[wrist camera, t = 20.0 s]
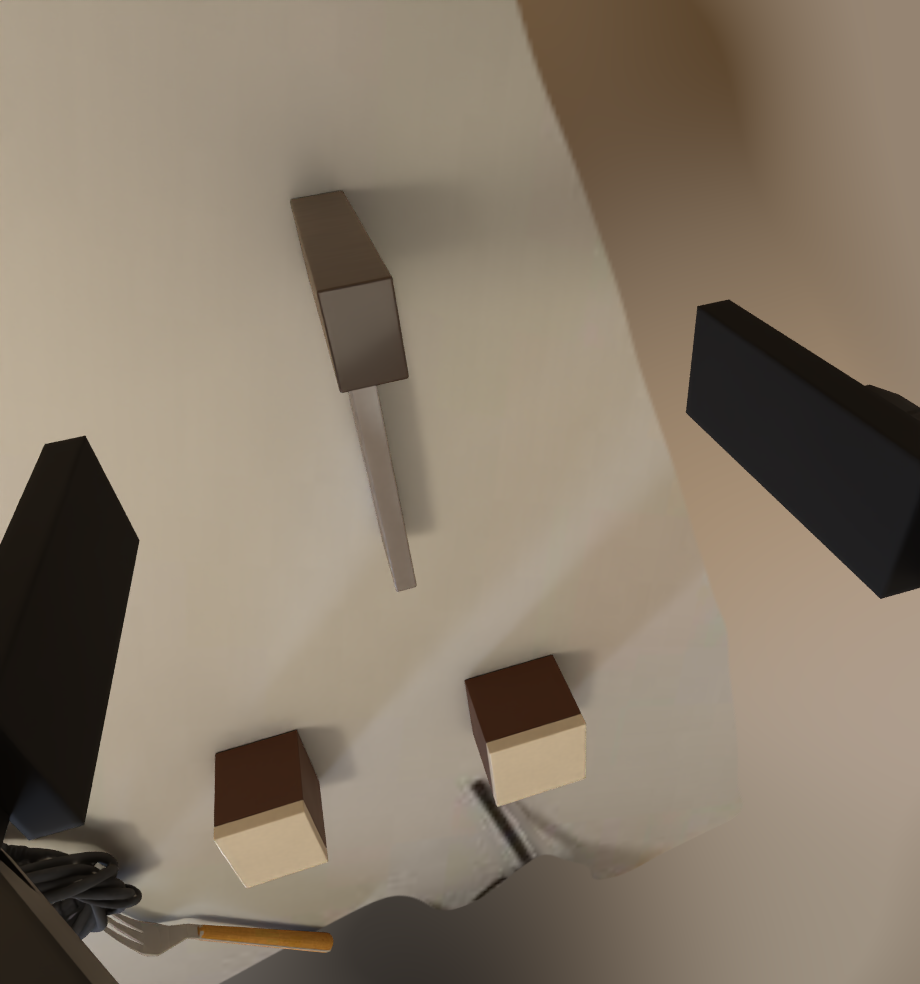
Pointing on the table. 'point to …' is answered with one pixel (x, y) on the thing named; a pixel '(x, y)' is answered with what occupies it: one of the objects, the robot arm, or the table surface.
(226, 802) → the cake slice
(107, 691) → the robot arm
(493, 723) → the cake
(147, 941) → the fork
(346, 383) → the long brown beam
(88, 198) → the table surface
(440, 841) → the table surface
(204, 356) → the table surface
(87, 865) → the cable
